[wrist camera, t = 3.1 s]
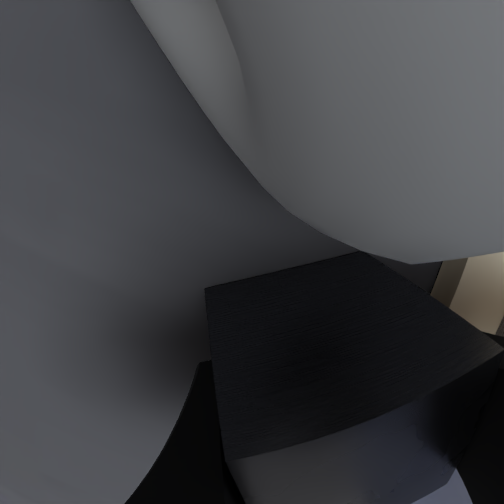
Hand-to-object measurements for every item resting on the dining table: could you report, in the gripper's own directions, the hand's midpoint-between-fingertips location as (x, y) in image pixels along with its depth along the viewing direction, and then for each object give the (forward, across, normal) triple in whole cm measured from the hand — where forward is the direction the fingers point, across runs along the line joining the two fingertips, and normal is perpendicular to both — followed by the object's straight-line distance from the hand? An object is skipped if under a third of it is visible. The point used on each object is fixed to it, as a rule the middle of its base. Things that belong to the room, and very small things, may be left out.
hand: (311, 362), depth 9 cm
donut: (+2, +1, -10) cm, 10 cm away
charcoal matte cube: (+1, 0, 0) cm, 1 cm away
